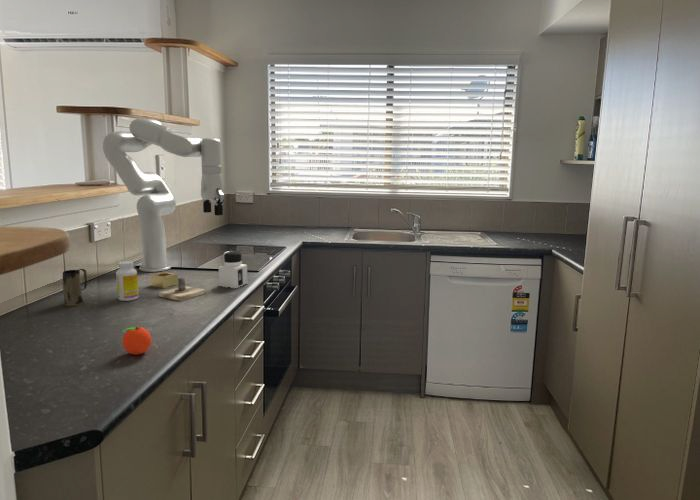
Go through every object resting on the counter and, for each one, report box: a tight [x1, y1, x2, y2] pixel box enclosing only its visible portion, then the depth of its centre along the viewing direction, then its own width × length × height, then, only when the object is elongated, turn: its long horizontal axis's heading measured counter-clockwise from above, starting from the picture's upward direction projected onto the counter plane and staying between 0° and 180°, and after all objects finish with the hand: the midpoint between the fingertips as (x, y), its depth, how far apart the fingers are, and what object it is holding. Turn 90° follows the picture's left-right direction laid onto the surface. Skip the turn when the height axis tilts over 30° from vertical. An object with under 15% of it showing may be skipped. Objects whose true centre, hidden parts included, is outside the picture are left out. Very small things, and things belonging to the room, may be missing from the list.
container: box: [218, 250, 248, 289], centre depth 201 cm, size 8×8×13 cm
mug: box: [62, 268, 88, 307], centre depth 176 cm, size 8×6×12 cm
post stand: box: [158, 277, 206, 302], centre depth 188 cm, size 11×11×6 cm
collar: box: [149, 271, 179, 289], centre depth 202 cm, size 7×7×4 cm
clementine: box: [118, 326, 152, 355], centre depth 136 cm, size 8×7×7 cm
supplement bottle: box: [115, 260, 140, 302], centre depth 183 cm, size 7×7×13 cm
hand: (213, 213), depth 213 cm, fingers open, 9 cm apart
